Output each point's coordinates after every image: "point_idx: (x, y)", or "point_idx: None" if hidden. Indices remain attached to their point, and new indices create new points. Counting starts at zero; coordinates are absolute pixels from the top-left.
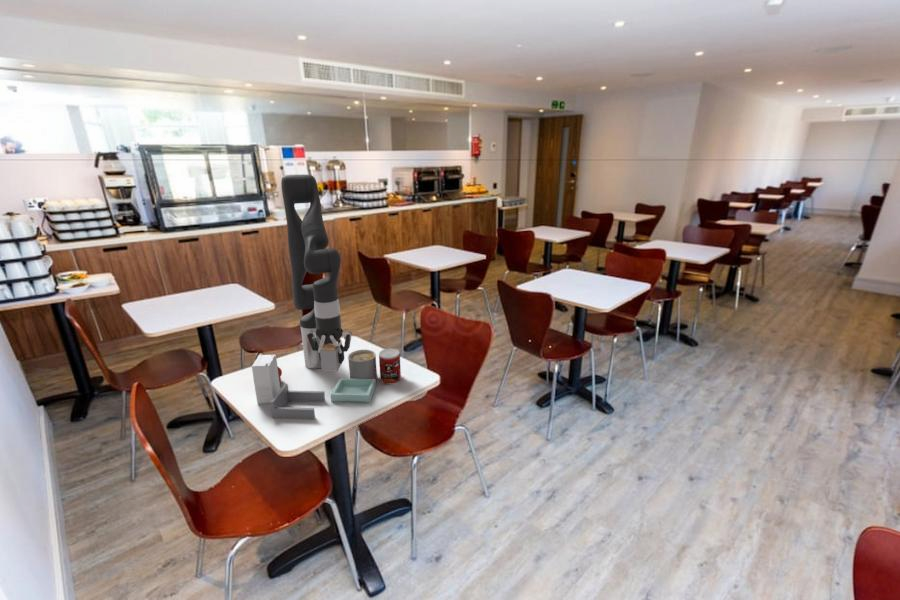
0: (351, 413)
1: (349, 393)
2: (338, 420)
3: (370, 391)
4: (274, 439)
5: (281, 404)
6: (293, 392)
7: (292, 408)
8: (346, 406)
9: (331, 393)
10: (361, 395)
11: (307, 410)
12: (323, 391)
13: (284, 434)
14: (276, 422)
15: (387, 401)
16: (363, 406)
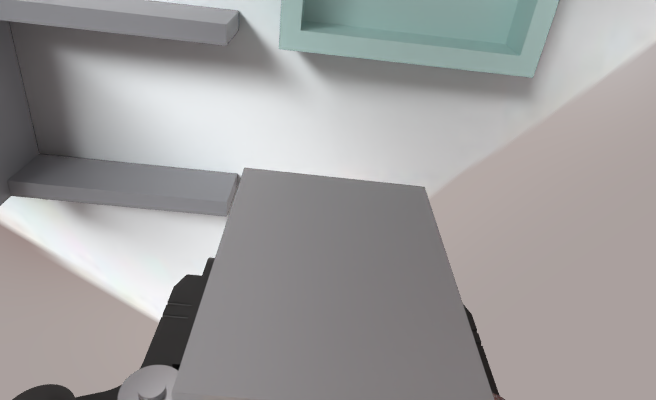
0: (414, 153)
1: (405, 45)
2: None
3: (551, 16)
4: (127, 294)
5: (7, 106)
6: (9, 20)
7: (109, 198)
8: (381, 87)
9: (281, 36)
10: (486, 72)
11: (197, 210)
12: (221, 26)
13: (150, 271)
14: None
15: (627, 50)
16: (479, 94)
